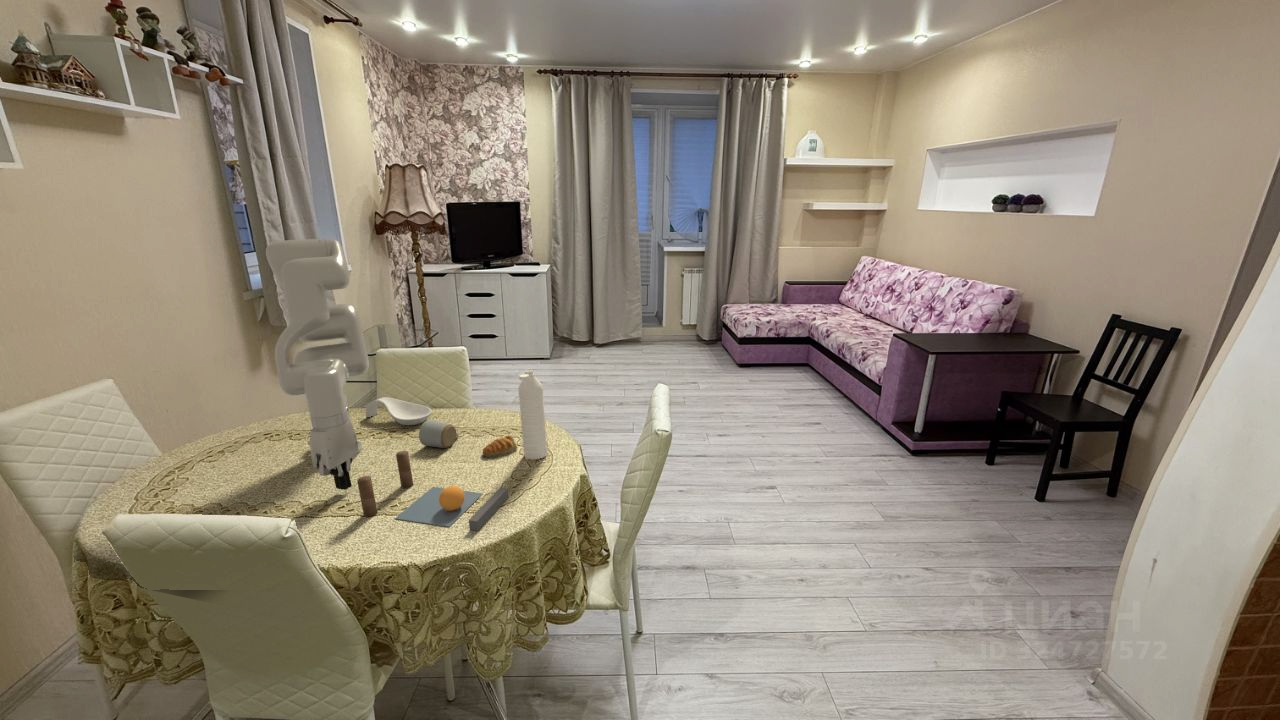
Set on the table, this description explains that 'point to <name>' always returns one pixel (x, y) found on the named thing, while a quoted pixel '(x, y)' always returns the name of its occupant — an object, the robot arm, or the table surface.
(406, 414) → the spoon rest
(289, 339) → the robot arm
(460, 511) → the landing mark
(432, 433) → the ceramic mug
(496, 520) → the table surface
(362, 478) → the post
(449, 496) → the ball
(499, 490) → the wall
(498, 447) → the pastry
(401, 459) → the post
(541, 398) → the water bottle
